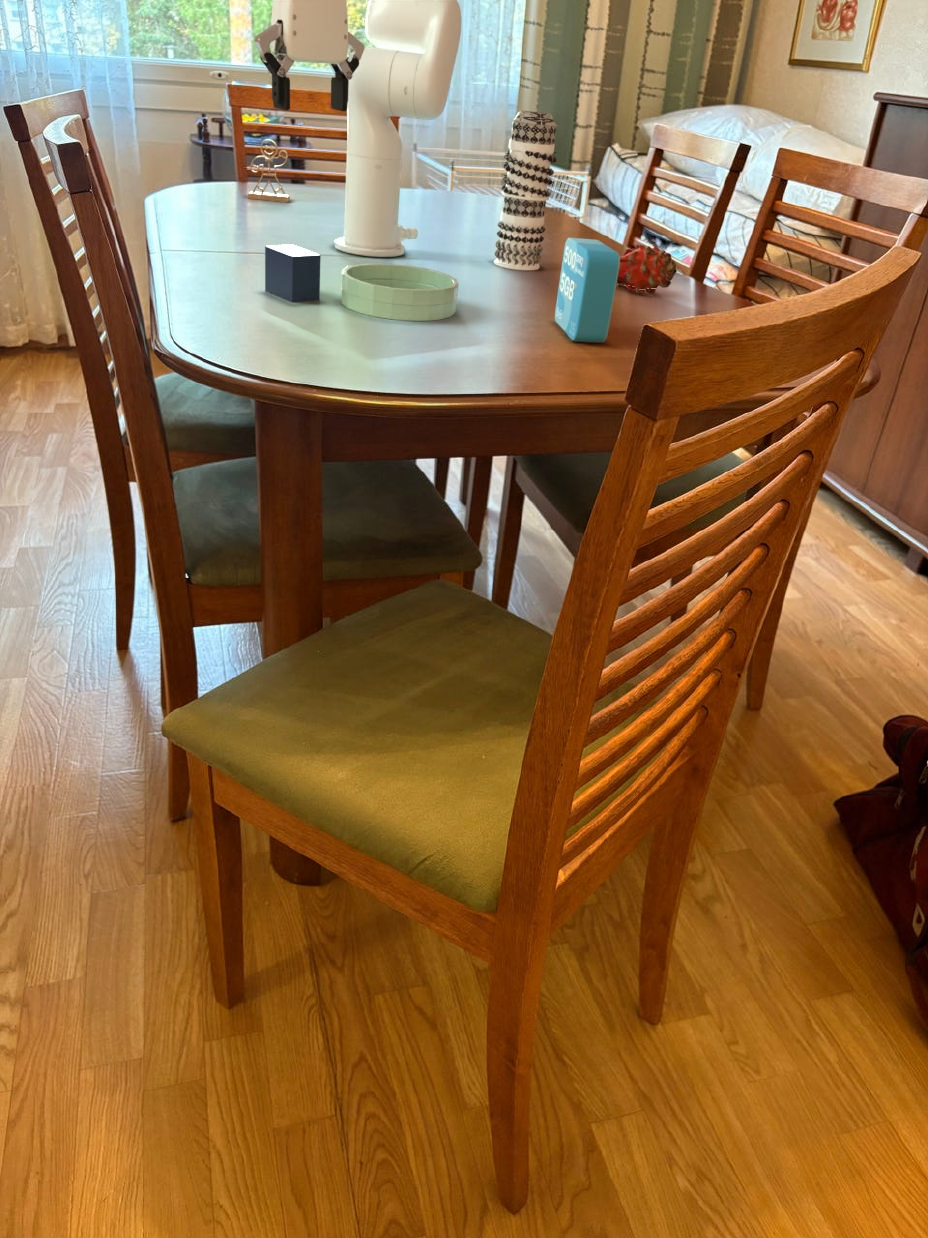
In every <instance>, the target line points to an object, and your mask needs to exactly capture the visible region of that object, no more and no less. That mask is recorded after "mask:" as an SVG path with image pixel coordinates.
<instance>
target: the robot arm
mask: <svg viewBox="0 0 928 1238" xmlns="http://www.w3.org/2000/svg"><path fill="white" fill-rule="evenodd" d="M271 7H272V9H271V21H270V26H269V27H268V28H266V29H265V30H263V31H261V32H260V33H258V34H256V35H255V36H254V38H253V41H254V42H253V43H254V44H255V47H256V49H257V52H258V54H259V59H260V61H261V62H262V63H263V65H264V66H265V68H266V69H267V72H268V74H269V75H271V99H272V101H273V108H274V109H278V110H282V111H290V110H291V79H290V77H289V76H287V74H288V73H289V71H290V69H291V68H292V66H293V64H294V63H295V62H298V63H312V64H328V65H329V67H330V69H331V71H332V73H333V74H334V76H332V77H331V79H330V108H331V109H332V110H336V111H340V112H346V116H347V117H346V118H347V119H346V120H347V135H346V137H347V138H346V139H347V140H346V141H347V142H346V163H345V164H346V167H345V195H344V220H343V222H344V223H343V237H339V238H337V239H335V240H334V247H335V249H336V250H338V251H341V252H344V253H346V254H351V255H357V256H364V257H373V258H395V257H400V256H403V255H404V254H405V250H406V247H405V245H403V244H402V242H404V241H405V240H416V239H417V238H418V236H419V232H418V229H417V228H415V227H406V228H404V226H403V225H401V224H399V213H400V212H399V211H400V196H401V180H402V165H403V143H402V139H401V136H400V134H399V132H398V130H397V128H396V126H395V125H394V122H393V120H392V119H391V117H400V118H407V119H415V120H425V121H427V120H428V121H432V120H435V119H438V118H439V117H440V116H441V115H442V114H443V112H444V110H445V107H446V105H447V101H448V97H449V94H450V93H449V92H450V88H451V84H452V78H453V75H454V69H455V64H456V61H457V55H458V50H459V46H460V40H461V34H462V10H461V6H460V3H459V1H458V0H369V1H368V5H367V10H366V11H367V12H366V16H365V17H366V18H365V34H366V37H367V39H368V41H369V42H370V44H371V45H373V46H374V47H365V44H364V43H363V42H362V41H361V40H359V39H357V37H355V36H354V35H353V34H352V33H350V32H349V17H348V15H349V14H348V2H347V0H272V6H271ZM348 50H349V51H348ZM348 52H349V55H348Z"/></svg>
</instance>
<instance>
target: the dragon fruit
mask: <svg viewBox="0 0 928 1238" xmlns="http://www.w3.org/2000/svg"><path fill="white" fill-rule="evenodd" d="M652 246H653V247H652V248H651V246H647V247H646V246H645V245H643V244H637V243H636V244H635V248H627V249H625V251H624V253H623V254H622V255H619V257H620V267H619V273H618V278H617V284H616V285H617V287H618V288H620V289H625V290H626V291H634V290H635V294H637V295H638V294H640V293H643V292H646V293H647V294H651V295H653V294H655V293H656V290H657V289H658V287H661V288H668V287H670V285H671V284H672V280H673V279H674V277H675V275H676V274H677V272H678V270H677V268H676V267H677V263H676V262H675V260H674V259H672V255H671V253H670V252H666V251H665V250H664V249H660V248H659V246H658V245H656V244H655V243H653V244H652ZM618 284H619V285H618ZM628 285H630V286H628ZM632 286H635V287H632ZM636 288H637V289H636ZM647 288H649V289H647ZM651 288H656V289H651ZM639 289H646V290H639Z"/></svg>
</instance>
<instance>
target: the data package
mask: <svg viewBox="0 0 928 1238" xmlns="http://www.w3.org/2000/svg"><path fill="white" fill-rule="evenodd" d="M619 256H620V254H619V253H618V252H617V251H616V250H614V249H612V247H609V246H608V245H606V244H605V243H604V242H602V241H600V240H599V239H590V238H578V237H568V238H567V239H566V241H565V244H564V248H563V257H562V263H561V269H560V275H559V283H558V289H557V296H556V304H555V311H554V320H555V321H554V322H555V323H556V324H558V326H559V327H560V328H561V329H562V330H563V331H564V332H565V335H566V336H567V337H568V338H569V339H570V340H571V341H572V342H576V343H593V344H604V343H605V342H606V340H607V338H608V335H609V334H608V333H609V330H610V329H609V328H610V322H611V318H612V311H613V306H614V300H615V296H616V289H617V285H618V284H617V278H618V273H619V267H620V257H619Z"/></svg>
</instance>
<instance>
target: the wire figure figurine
mask: <svg viewBox="0 0 928 1238" xmlns="http://www.w3.org/2000/svg"><path fill="white" fill-rule="evenodd" d="M268 141H269V142H271V143H273V144H274V146H273V145H270V146H269V145H267V144H265V145H264V143H265V142H268ZM263 148H264V149H265V150H263ZM259 149H260V152H261V154H262V155H257V156H255V157H254V158H253V159H252V160H251V162H250V166H249V169H250V171H251V172H252V173H254V174H256V173H259V171H260V168H261V176H260V177H259V179H258V182H257V183H256V185H255V187H254V189H253V191H252V190H251V191H249V192H248V193H247V199H249V200H260V201H271V202H280V203H289V202H290V201H291V196H290V195H289V194H285V191H284V189H283V187H282V185H281V183H280V182H279V179H278V177H277V168H280V167H283V166H284V165H285V164H286V162H287V161H288V157H289V154H288V152H287V151H286V150H285V149H281V150H280V151H279V152H278V145H277V143H276V142H275V141H274V140H273V139H270V138H267V139H264V140H263V141H262V142H261V143H260V148H259ZM267 149H270V150H271V151H272V152H267ZM274 150H275V151H274ZM282 152H283V153H285V155H286V156H285V155H283V154H281V153H282ZM277 154H278V155H277ZM276 155H277V156H276ZM259 158H264V161H265V163H266V162H267V166H268V169H267V172H268V173H267V172H264V164H263V163H261V164H259V165H256V164H254V161H255V160H257V159H259ZM279 158H281V159H283V160H284V162H283V163H282V164H279V165H274V173H271V171H272V170H271V164H272V163H273V162H274V159H275V160H276V159H279ZM253 168H255V169H257V170H254V169H253ZM264 176H266V177H274V179H275V180H276V182H277V184H278V186H279V187H278V188H277V189H275V188H274V186H273V184H272V182H271V180H270V179H268V181H267V182H266V184H265V186H264V187H262V186H260V185H259V184H260V182H261V180H262V179H263V177H264ZM268 185H269V186H270V187H271V190H272V191H273V192H272V193H271V192H265V190H266V189H267V187H268ZM256 189H259V190H260V191H256ZM280 191H281V192H282V194H281V193H278V192H280Z"/></svg>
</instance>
